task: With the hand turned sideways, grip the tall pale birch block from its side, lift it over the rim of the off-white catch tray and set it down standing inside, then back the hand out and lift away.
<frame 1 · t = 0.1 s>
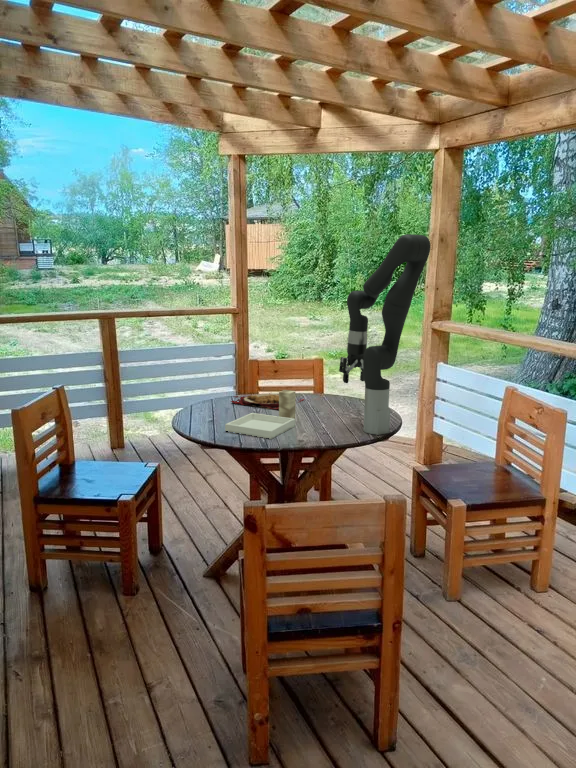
hand: (354, 381, 220), 17 cm above the table, fingers open, 8 cm apart
catch tray: (260, 428, 215), on the table
block: (287, 419, 228), on the table
plate with food: (268, 403, 260), on the table
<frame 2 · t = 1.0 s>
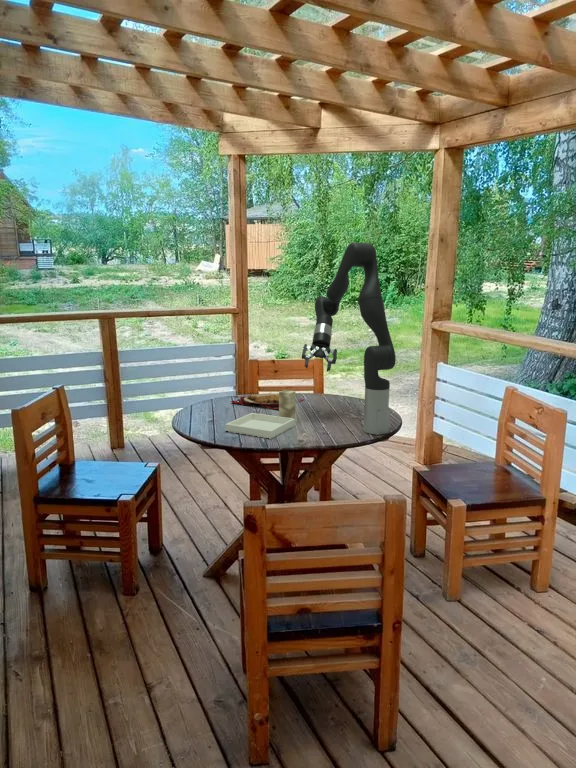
hand: (317, 369, 223), 22 cm above the table, fingers open, 8 cm apart
nothing on the table moved.
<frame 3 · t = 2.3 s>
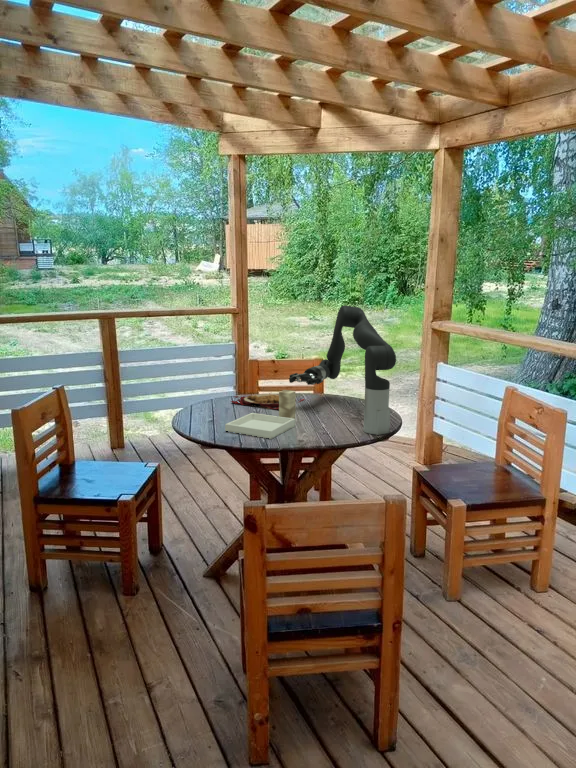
hand: (299, 381, 235), 14 cm above the table, fingers open, 8 cm apart
nothing on the table moved.
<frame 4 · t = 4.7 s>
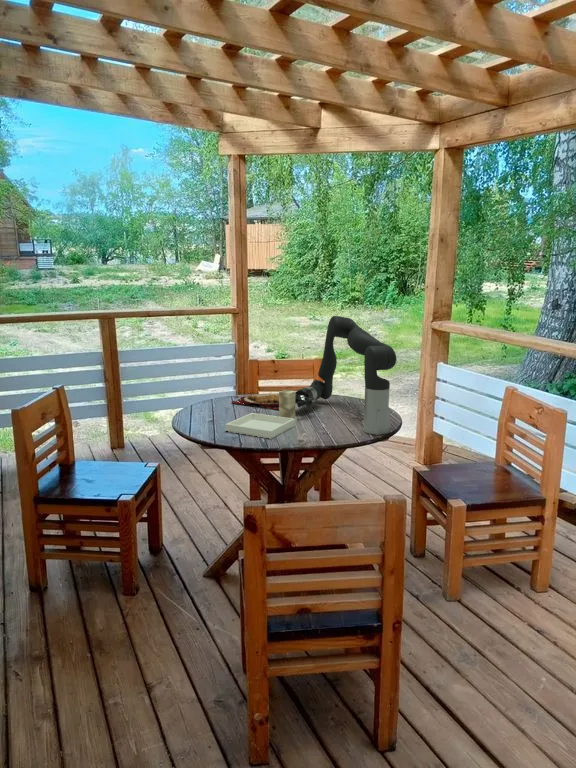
hand: (289, 403, 228), 7 cm above the table, fingers open, 8 cm apart
nothing on the table moved.
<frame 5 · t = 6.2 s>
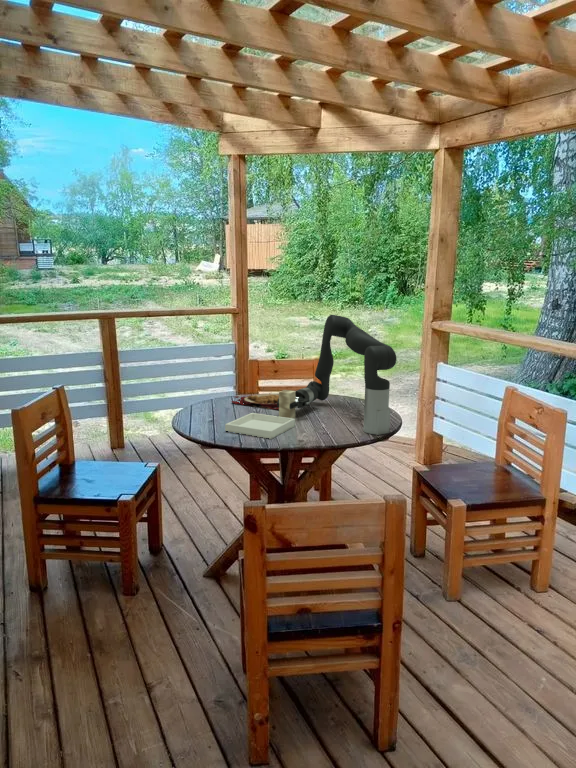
hand: (284, 405, 225), 7 cm above the table, fingers closed on block, 5 cm apart
block: (287, 419, 228), on the table, touching gripper
everything else where it was.
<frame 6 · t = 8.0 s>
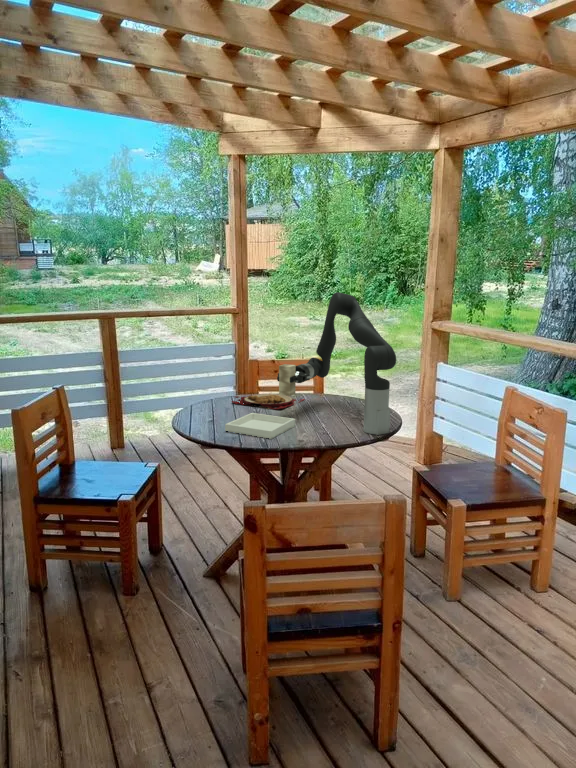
hand: (284, 379, 222), 18 cm above the table, fingers closed on block, 5 cm apart
block: (287, 394, 226), point 11 cm above the table, touching gripper
everything else where it was.
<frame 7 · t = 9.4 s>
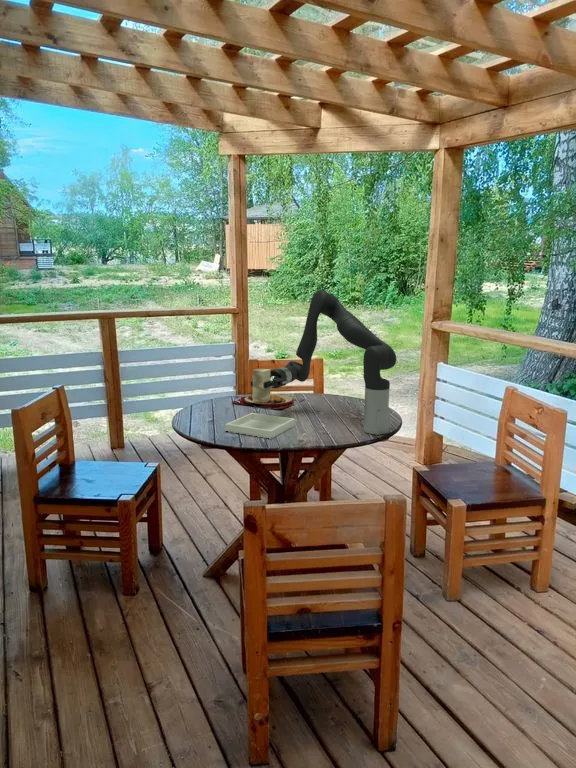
hand: (258, 384, 210), 18 cm above the table, fingers closed on block, 5 cm apart
block: (261, 400, 213), point 11 cm above the table, touching gripper
everything else where it was.
when the fingers open (8 cm above the table, at t = 11.8 s): block drops 1 cm, resting on catch tray.
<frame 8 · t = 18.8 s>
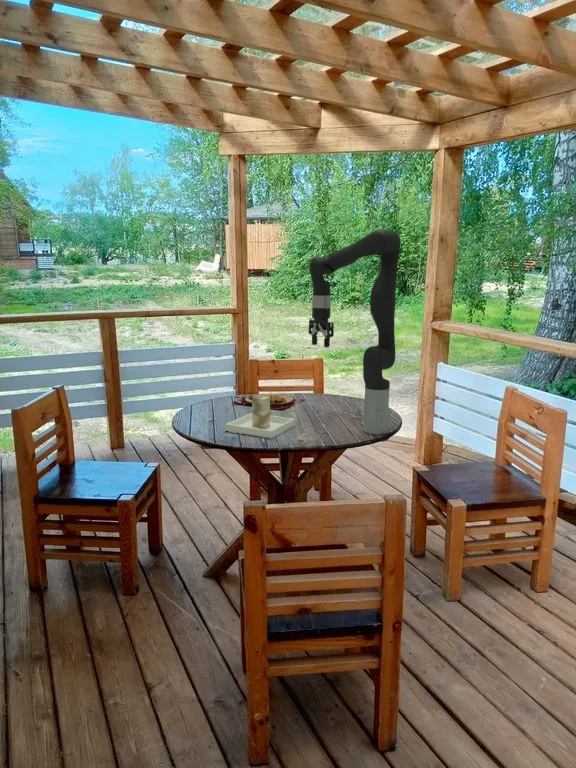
hand: (320, 345, 229), 30 cm above the table, fingers open, 8 cm apart
block: (261, 427, 215), point 1 cm above the table, touching catch tray
everything else where it was.
at the end: block inside the target area on the catch tray (0.1 cm from its centre), point 0.6 cm above the catch tray's base; block tilted 0°; the gripper is holding nothing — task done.
